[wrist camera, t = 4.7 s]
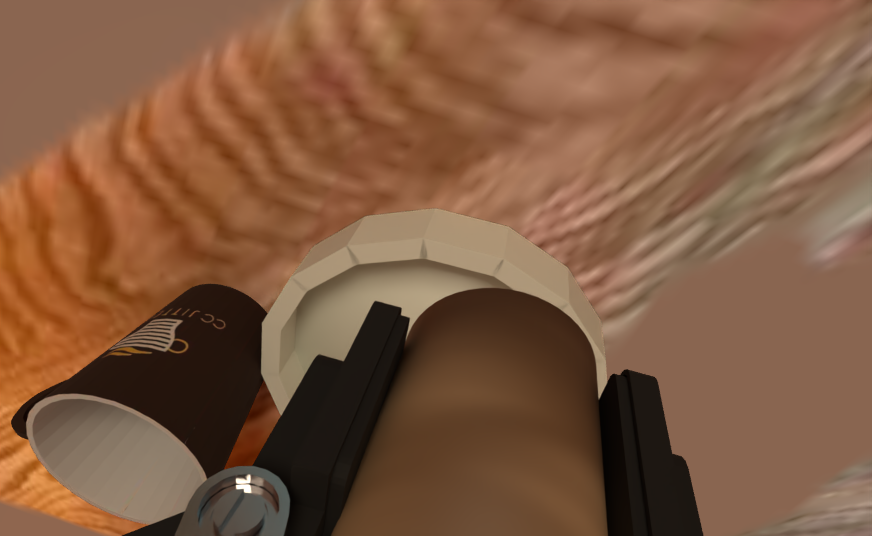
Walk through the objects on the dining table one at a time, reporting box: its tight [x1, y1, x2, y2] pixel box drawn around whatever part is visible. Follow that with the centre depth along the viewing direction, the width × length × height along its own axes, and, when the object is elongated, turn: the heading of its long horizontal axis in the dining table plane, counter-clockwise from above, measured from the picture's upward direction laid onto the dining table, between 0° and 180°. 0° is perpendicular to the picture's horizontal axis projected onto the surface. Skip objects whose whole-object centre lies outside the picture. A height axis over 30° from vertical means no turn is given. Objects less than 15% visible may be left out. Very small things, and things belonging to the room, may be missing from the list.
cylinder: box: [331, 288, 608, 536], centre depth 9 cm, size 4×4×6 cm
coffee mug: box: [11, 284, 267, 525], centre depth 29 cm, size 12×9×10 cm
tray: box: [261, 208, 607, 415], centre depth 30 cm, size 18×18×3 cm
